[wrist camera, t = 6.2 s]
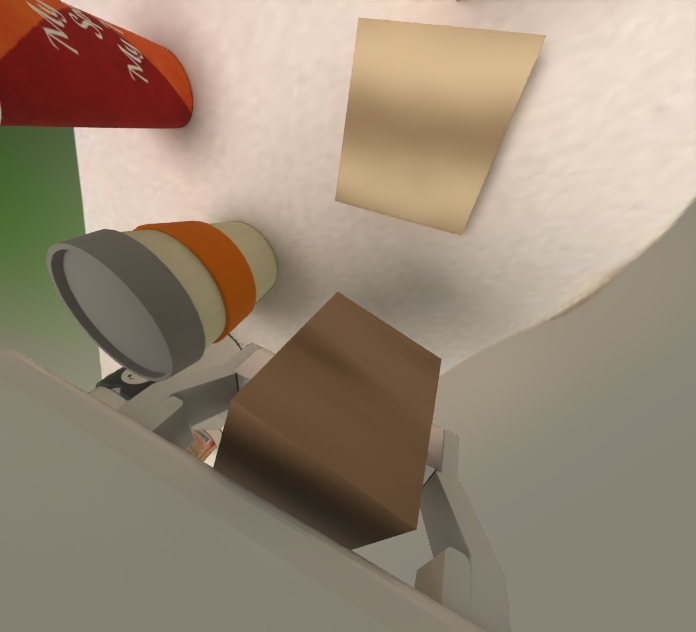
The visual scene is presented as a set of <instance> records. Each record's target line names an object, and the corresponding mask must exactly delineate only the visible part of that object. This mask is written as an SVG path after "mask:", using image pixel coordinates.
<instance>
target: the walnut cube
mask: <svg viewBox="0 0 696 632" xmlns="http://www.w3.org/2000/svg"><path fill="white" fill-rule="evenodd" d="M440 365H441V359H440V358H439V357H437V356H435V355H434V354H432V353H431V352H429V351H428V350H426V349H425V348H423V347H422V346H420V345H419V344H417V343H415V342H414V341H412V340H411V339H409V338H408V337H406V336H405V335H403V334H402V333H400V332H399V331H397V330H396V329H394V328H392V327H391V326H389V325H388V324H386V323H385V322H383V321H382V320H380V319H379V318H377V317H376V316H374V315H373V314H371V313H369V312H368V311H366V310H365V309H363V308H362V307H360V306H359V305H357V304H356V303H354V302H353V301H351V300H349V299H348V298H346V297H345V296H343V295H342V294H340V293H339V292H337V293H336V294H335V295H334V296H333V297H332V298H331V299H330V300H329V301H328V302H327V303H326V304H325V305H324V306H323V307H322V308H321V309H320V310H319V311H318V312H317V313H316V314H315V315H314V316H313V317H312V318H311V319H310V320H309V321H308V322H307V323H306V324H305V325H304V326H303V327H302V328H301V329H300V330H299V331H298V332H297V333H296V334H295V335H294V336H293V337H292V338H291V339H290V340H289V341H288V342H287V343H286V344H285V345H284V346H283V347H282V348H281V349H280V350H279V351H278V352H277V353H276V354H275V355H274V356H273V357H272V358H271V359H270V361H269V362H268V363H267V364H266V365H265V366H264V367H263V368H262V369H261V370H260V371H259V372H258V373H257V374H256V375H255V376H254V377H253V378H252V379H251V380H250V381H249V382H248V383H247V384H246V385H245V386H244V387H243V388H242V389H241V390H240V391H239V392H238V393H237V394H236V395H235V396H234V397H233V398H232V399H231V402H230V406H229V409H228V413H227V417H226V421H225V425H224V429H223V433H222V436H221V440H220V444H219V448H218V452H217V456H216V460H215V463H214V467H213V468H214V469H216V470H218V471H219V472H221V473H223V474H224V475H226V476H228V477H229V478H231V479H233V480H234V481H236V482H238V483H239V484H241V485H243V486H244V487H246V488H248V489H250V490H251V491H253V492H255V493H256V494H258V495H260V496H261V497H263V498H265V499H266V500H268V501H270V502H271V503H273V504H275V505H276V506H278V507H280V508H281V509H283V510H285V511H286V512H288V513H290V514H291V515H293V516H295V517H296V518H298V519H300V520H301V521H303V522H305V523H306V524H308V525H310V526H311V527H313V528H315V529H316V530H318V531H320V532H321V533H323V534H325V535H326V536H328V537H330V538H331V539H333V540H335V541H337V542H338V543H340V544H342V545H343V546H345V547H347V548H348V549H350V550H352V549H355V548H359V547H362V546H365V545H368V544H371V543H375V542H378V541H381V540H384V539H387V538H391V537H394V536H397V535H400V534H403V533H406V532H410V531H413V530H416V529H417V522H418V515H419V508H420V502H421V495H422V488H423V481H424V474H425V468H426V461H427V454H428V447H429V440H430V433H431V426H432V420H433V413H434V405H435V399H436V392H437V385H438V379H439V372H440Z"/></svg>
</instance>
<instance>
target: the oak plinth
mask: <svg viewBox="0 0 696 632" xmlns="http://www.w3.org/2000/svg"><path fill="white" fill-rule="evenodd" d="M545 37H546V35H536V34H525V33H515V32H504V31H494V30H483V29H473V28H462V27H451V26H441V25H430V24H420V23H409V22H399V21H388V20H377V19H367V18H359V20H358V28H357V36H356V44H355V51H354V59H353V67H352V75H351V83H350V90H349V98H348V106H347V114H346V122H345V129H344V137H343V145H342V153H341V160H340V168H339V176H338V184H337V192H336V199H335V201H338V202H341V203H345V204H349V205H352V206H356V207H360V208H363V209H367V210H370V211H374V212H378V213H381V214H385V215H389V216H392V217H396V218H399V219H403V220H407V221H410V222H414V223H418V224H421V225H425V226H429V227H432V228H436V229H439V230H443V231H447V232H450V233H454V234H458V235H462V233H463V230H464V228H465V225H466V223H467V221H468V218H469V216H470V214H471V211H472V209H473V207H474V204H475V202H476V200H477V197H478V195H479V193H480V190H481V188H482V185H483V183H484V181H485V178H486V176H487V174H488V171H489V169H490V167H491V164H492V162H493V160H494V157H495V155H496V152H497V150H498V148H499V145H500V143H501V141H502V138H503V136H504V134H505V131H506V129H507V127H508V124H509V122H510V120H511V117H512V115H513V112H514V110H515V108H516V105H517V103H518V101H519V98H520V96H521V94H522V91H523V89H524V87H525V84H526V82H527V80H528V77H529V75H530V72H531V70H532V68H533V65H534V63H535V61H536V58H537V56H538V54H539V51H540V49H541V47H542V44H543V42H544V40H545Z"/></svg>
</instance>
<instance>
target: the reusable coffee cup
mask: <svg viewBox="0 0 696 632" xmlns="http://www.w3.org/2000/svg"><path fill="white" fill-rule="evenodd" d="M46 260H47V268H48V271H49V274H50V277H51V280H52V282H53V284H54V286H55V289H56V291H57V293H58V294H59V296H60V298H61V299H62V301H63V303H64V304H65V306H66V307H67V309H68V310H69V312H70V313H71V315H72V316H73V317H74V319H75V320H76V321H77V322H78V324H79V325H80V326H81V327H82V329H83V330H84V331H85V332H86V333H87V334H88V335H89V336H90V338H91V339H92V340H93V341H94V342H95V343H96V344H97V345H98V346H99V347H100V348H101V349H102V350H103V351H105V352H106V353H107V354H108V355H109V356H110V357H111V358H113V359H114V360H115V361H116V362H118V363H119V364H120V365H121V366H123V367H124V368H126V369H127V370H129V371H130V372H132V373H134V374H136V375H138V376H139V377H142V378H144V379H147V380H150V381H155V382H160V381H164V380H167V379H169V378H170V377H172V376H174V375H175V374H177V373H179V372H181V371H182V370H184V369H186V368H187V367H189V366H191V365H192V364H194V363H196V362H197V361H199V360H200V359H201V357H202V356H203V354H204V351H205V350H206V349H207V348H208V347H209V346H210V345H211V344H214V343H217V342H219V341H221V340H223V339H224V338H225V337H226V336H227V335H228V334H229V333H230V332H231V331H232V330H233V329H234V328H235V327H236V326H237V325H238V324H239V323H240V322H241V321H242V320H243V319H244V318H245V317H247V316H248V315H249V313H250V312H251V311H252V310H253V307H254V305H255V303H256V302H257V301H258V300H259V299H260V298H261V297H262V296H263V295H264V294H265V293H267V292H268V291H269V290H270V289H271V288H272V286H273V285H274V283H275V281H276V277H277V264H276V259H275V256H274V253H273V251H272V249H271V247H270V245H269V244H268V242H267V241H266V239H265V238H264V237H263V236H262V235H261V234H260V233H259V232H258V231H257V230H255V229H254V228H253V227H251V226H249V225H247V224H245V223H242V222H226V223H215V224H207V223H204V222H200V221H185V222H171V223H158V224H146V225H142V226H138V227H137V228H136V229H134V230H133V231H127V232H118V231H115V230H108V229H103V230H99V231H95V232H92V233H89V234H86V235H83V236H79V237H76V238H73V239H70V240H66V241H63V242H60V243H57V244H53V245H52V246H51V247H50V248H49V249H48V251H47V256H46Z"/></svg>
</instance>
